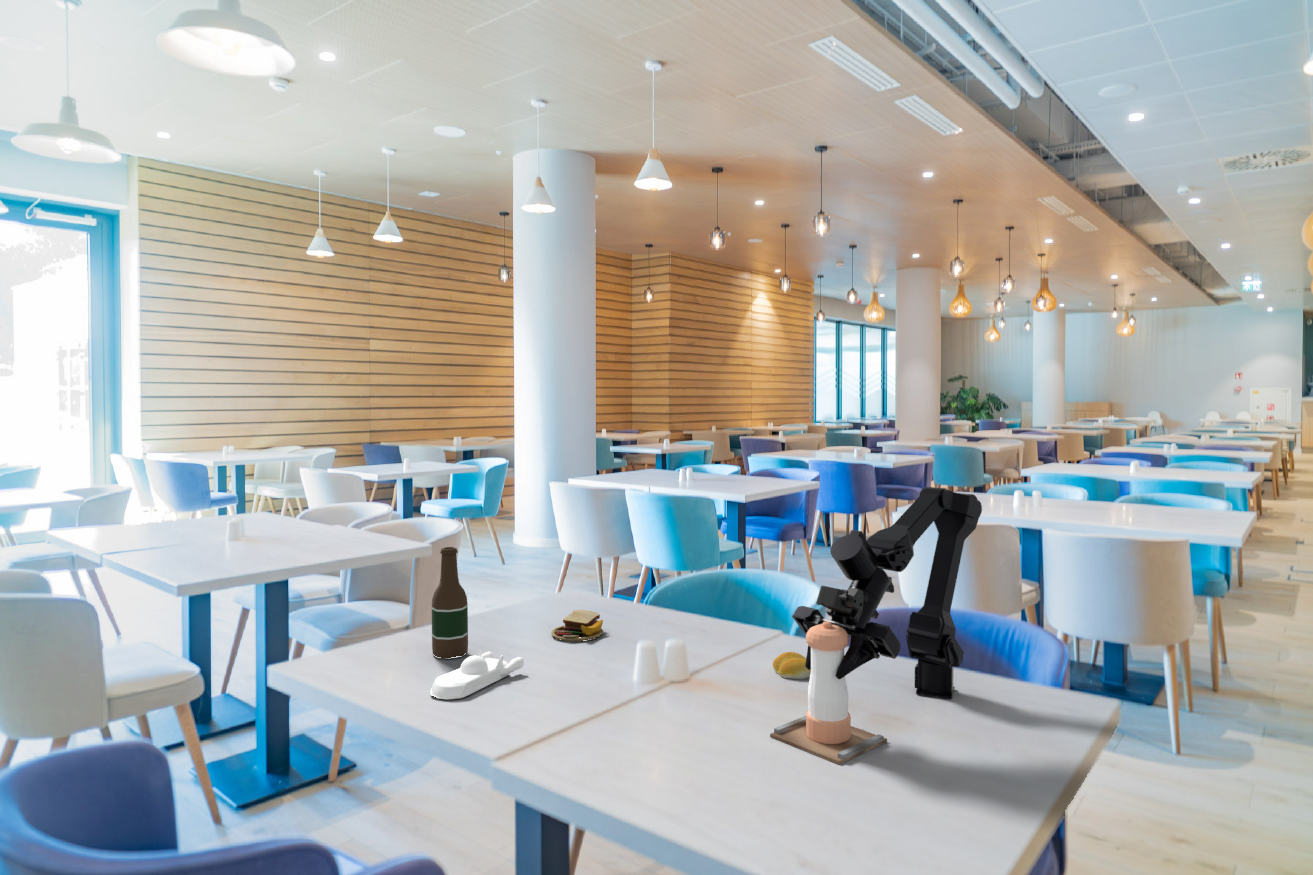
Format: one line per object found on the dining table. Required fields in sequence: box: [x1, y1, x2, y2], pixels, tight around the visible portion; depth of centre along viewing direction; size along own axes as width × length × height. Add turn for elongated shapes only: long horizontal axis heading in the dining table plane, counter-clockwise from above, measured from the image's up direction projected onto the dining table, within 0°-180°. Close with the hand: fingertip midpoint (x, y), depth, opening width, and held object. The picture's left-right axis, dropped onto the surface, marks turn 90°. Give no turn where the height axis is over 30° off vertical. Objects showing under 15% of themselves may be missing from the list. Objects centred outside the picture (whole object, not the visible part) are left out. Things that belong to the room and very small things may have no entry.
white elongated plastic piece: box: [429, 650, 525, 700], centre depth 163 cm, size 10×20×6 cm, turn 151°
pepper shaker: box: [805, 621, 852, 744], centre depth 135 cm, size 7×7×19 cm
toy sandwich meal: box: [550, 609, 604, 642], centre depth 198 cm, size 12×14×5 cm
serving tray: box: [769, 715, 888, 765], centre depth 136 cm, size 13×14×1 cm
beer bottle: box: [431, 546, 469, 658], centre depth 182 cm, size 8×8×24 cm
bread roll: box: [772, 651, 811, 680], centre depth 169 cm, size 8×9×4 cm
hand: (822, 672), depth 134 cm, fingers closed on pepper shaker, 6 cm apart
